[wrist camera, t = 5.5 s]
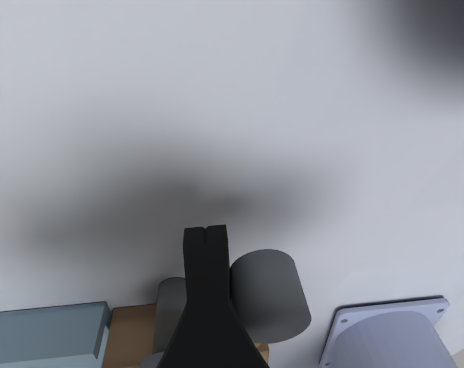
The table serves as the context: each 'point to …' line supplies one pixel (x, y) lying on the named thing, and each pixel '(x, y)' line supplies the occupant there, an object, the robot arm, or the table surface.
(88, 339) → the shallow square tray
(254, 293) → the lever
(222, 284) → the robot arm
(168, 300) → the block
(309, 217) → the table surface
